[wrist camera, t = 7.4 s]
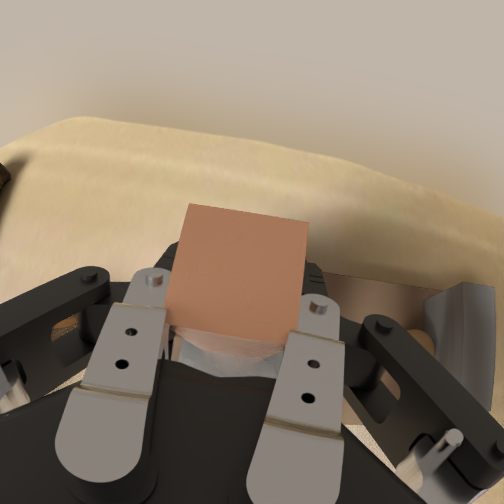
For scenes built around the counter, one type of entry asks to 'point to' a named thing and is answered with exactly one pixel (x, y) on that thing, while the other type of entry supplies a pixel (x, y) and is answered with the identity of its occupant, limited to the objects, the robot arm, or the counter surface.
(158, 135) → the counter surface
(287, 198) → the counter surface
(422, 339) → the hazelnut
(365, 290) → the press base
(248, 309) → the block
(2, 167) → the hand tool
